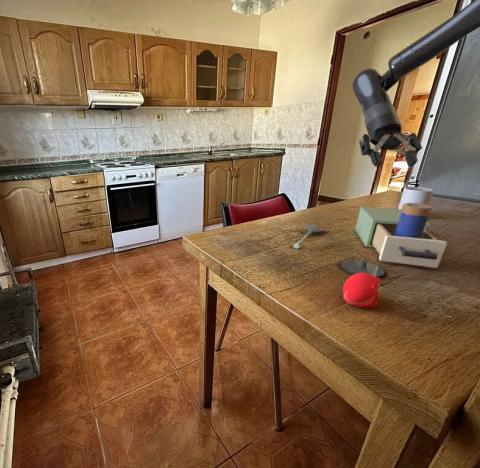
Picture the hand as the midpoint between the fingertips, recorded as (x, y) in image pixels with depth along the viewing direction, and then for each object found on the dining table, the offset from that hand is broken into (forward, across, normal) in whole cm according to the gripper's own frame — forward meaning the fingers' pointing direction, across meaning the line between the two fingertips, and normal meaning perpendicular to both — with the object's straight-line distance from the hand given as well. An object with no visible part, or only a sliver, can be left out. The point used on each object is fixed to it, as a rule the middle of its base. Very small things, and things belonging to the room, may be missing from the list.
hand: (395, 164), depth 72 cm
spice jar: (+24, 0, +7) cm, 25 cm away
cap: (+40, -20, -6) cm, 45 cm away
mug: (-4, +30, +38) cm, 48 cm away
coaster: (+30, -13, +4) cm, 33 cm away
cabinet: (+15, +4, +18) cm, 24 cm away
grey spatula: (+15, -19, +18) cm, 30 cm away
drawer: (+24, 0, +8) cm, 25 cm away
